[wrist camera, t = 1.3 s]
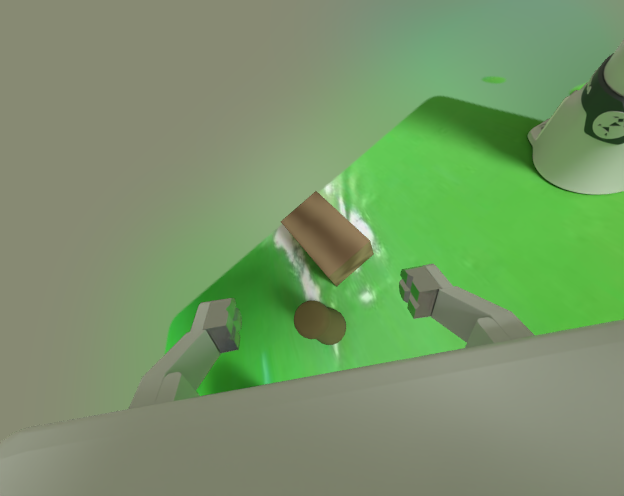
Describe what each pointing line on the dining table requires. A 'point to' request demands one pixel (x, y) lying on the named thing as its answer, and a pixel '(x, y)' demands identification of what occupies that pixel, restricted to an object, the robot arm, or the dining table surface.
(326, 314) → the cork
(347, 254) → the walnut block
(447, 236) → the dining table surface
